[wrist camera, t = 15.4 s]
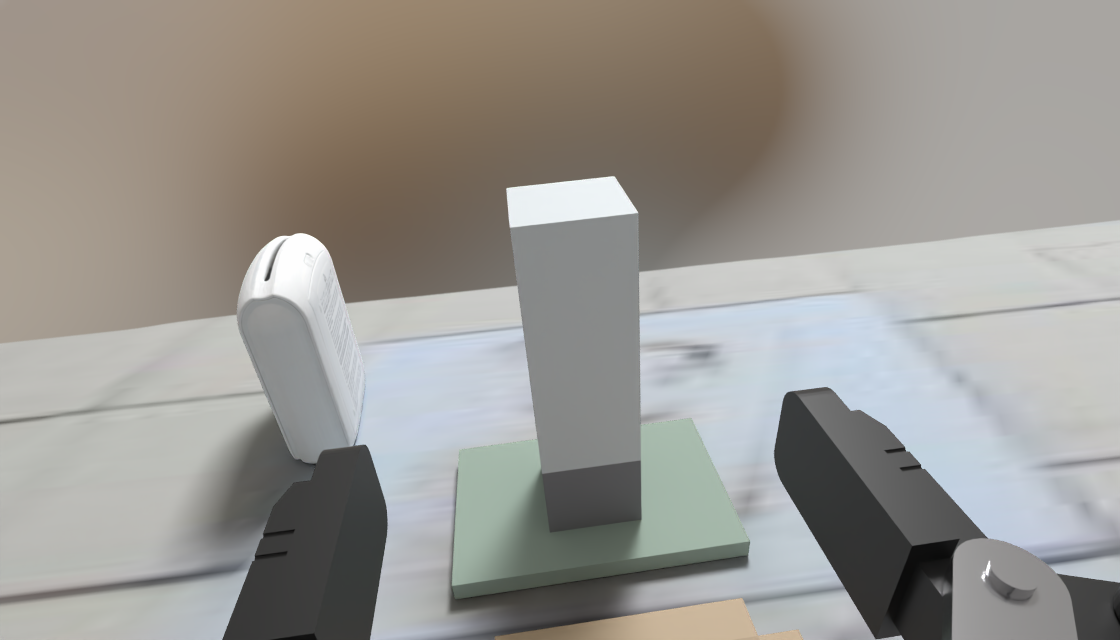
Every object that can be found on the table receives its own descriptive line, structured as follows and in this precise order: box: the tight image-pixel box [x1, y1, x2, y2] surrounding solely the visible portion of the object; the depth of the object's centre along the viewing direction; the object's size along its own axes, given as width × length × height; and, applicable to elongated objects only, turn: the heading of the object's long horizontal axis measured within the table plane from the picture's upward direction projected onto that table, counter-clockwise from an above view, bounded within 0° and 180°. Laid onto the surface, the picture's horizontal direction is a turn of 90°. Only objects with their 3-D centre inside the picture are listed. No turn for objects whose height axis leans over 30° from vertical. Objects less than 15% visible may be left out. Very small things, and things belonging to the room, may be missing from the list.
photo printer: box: [237, 234, 365, 463], centre depth 37 cm, size 10×4×12 cm, turn 12°
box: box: [507, 176, 642, 533], centre depth 27 cm, size 5×5×16 cm
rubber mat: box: [452, 418, 750, 599], centre depth 31 cm, size 14×9×1 cm, turn 97°
